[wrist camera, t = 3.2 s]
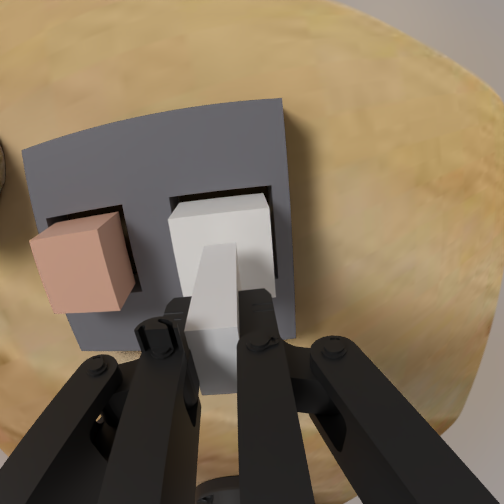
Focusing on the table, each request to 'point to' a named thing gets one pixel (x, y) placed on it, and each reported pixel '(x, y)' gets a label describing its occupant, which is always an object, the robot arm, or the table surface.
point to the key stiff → (84, 264)
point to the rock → (2, 168)
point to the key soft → (224, 238)
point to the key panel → (164, 197)
